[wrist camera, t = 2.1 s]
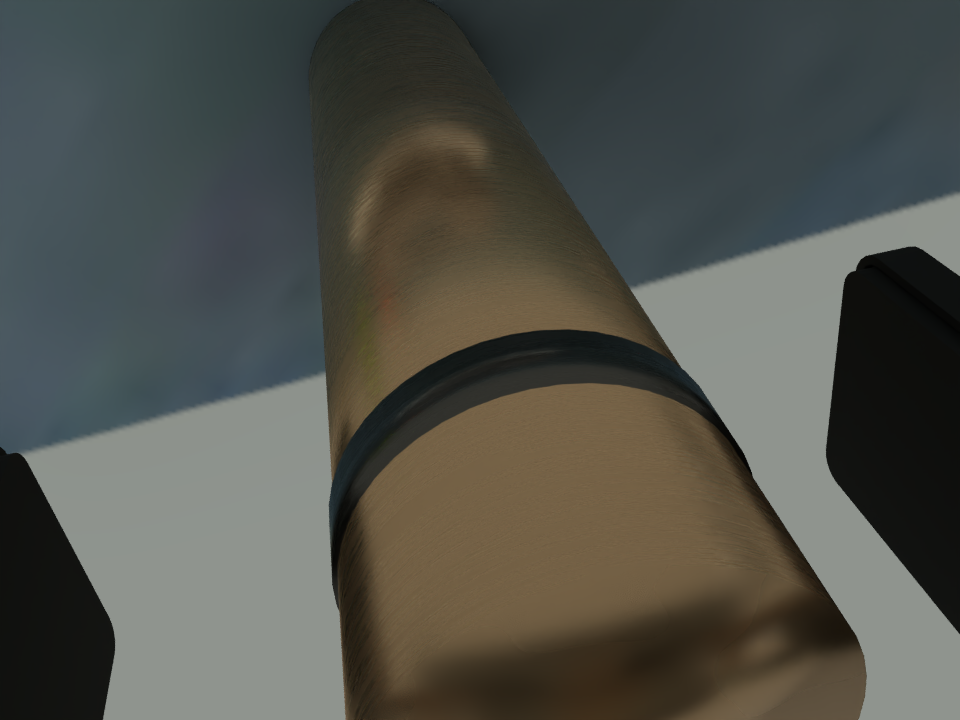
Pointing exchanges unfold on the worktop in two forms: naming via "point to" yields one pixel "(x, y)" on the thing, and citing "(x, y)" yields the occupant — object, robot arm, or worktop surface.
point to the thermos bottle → (525, 433)
